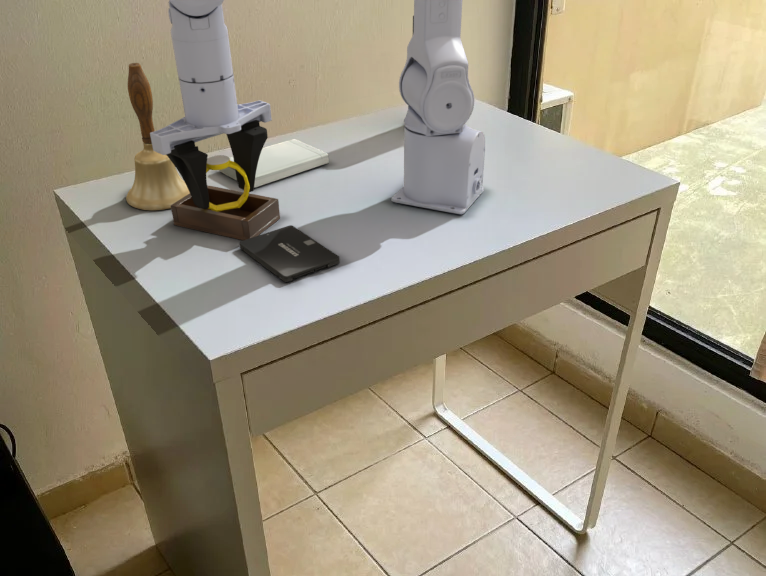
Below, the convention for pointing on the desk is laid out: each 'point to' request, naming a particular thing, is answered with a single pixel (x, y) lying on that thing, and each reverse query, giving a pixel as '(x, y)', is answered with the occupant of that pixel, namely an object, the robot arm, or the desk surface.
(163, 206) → the hand bell
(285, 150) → the hard drive
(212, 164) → the watch
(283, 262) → the solid state drive
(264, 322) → the desk surface
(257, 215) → the wooden tray
